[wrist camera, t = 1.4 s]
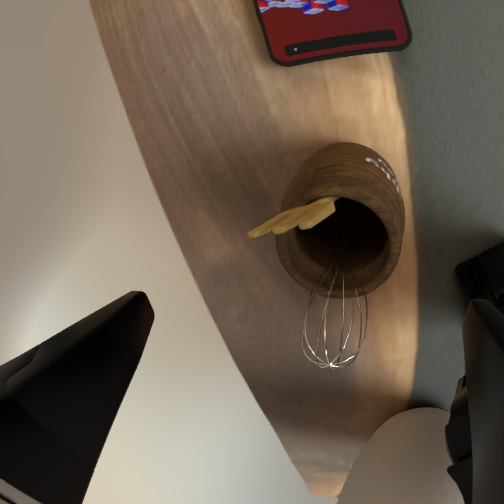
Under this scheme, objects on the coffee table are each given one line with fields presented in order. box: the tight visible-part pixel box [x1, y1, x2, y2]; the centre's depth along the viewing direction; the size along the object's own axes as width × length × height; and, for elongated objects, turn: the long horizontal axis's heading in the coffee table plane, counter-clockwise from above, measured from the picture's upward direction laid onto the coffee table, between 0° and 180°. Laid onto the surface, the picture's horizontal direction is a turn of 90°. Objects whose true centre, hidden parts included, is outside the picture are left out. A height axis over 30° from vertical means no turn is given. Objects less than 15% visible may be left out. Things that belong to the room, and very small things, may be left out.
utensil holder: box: [247, 143, 405, 370], centre depth 13 cm, size 6×6×12 cm
